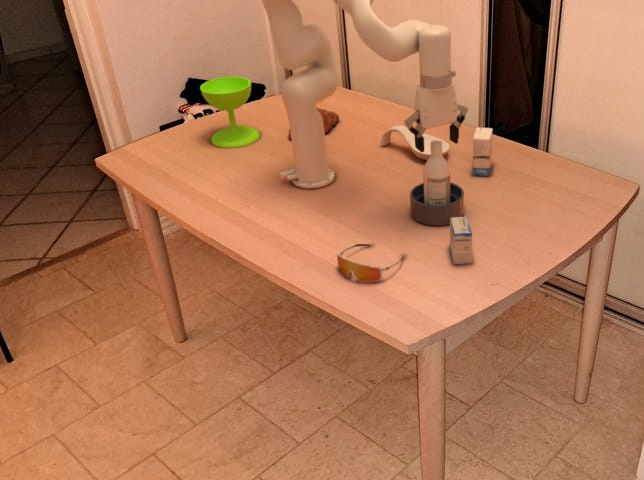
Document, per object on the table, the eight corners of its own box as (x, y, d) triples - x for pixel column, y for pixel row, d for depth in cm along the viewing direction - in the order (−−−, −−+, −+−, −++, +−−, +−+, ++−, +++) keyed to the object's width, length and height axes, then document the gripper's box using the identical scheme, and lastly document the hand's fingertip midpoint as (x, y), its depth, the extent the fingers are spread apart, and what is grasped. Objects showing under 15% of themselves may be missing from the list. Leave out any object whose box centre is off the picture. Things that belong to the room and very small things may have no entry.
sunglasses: (327, 272, 167) (326, 253, 165) (363, 250, 179) (364, 232, 177) (376, 289, 161) (376, 270, 159) (411, 265, 173) (412, 247, 170)
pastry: (334, 140, 231) (332, 116, 226) (287, 141, 231) (284, 117, 227) (339, 120, 245) (337, 97, 240) (295, 121, 245) (292, 98, 241)
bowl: (426, 231, 182) (425, 211, 178) (401, 208, 192) (401, 188, 189) (473, 218, 187) (474, 198, 183) (447, 195, 197) (447, 176, 194)
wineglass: (201, 143, 231) (189, 90, 221) (229, 125, 244) (219, 74, 233) (242, 150, 226) (232, 96, 216) (268, 131, 238) (260, 79, 228)
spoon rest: (456, 154, 220) (456, 132, 215) (435, 168, 212) (435, 146, 208) (394, 138, 231) (393, 117, 227) (373, 151, 223) (371, 129, 219)
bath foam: (454, 214, 188) (455, 144, 176) (431, 220, 185) (430, 150, 174) (442, 203, 193) (442, 135, 182) (420, 209, 191) (418, 140, 179)
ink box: (488, 176, 206) (490, 139, 199) (472, 175, 207) (472, 138, 200) (492, 164, 213) (493, 127, 206) (475, 163, 214) (476, 126, 207)
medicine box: (449, 247, 175) (449, 217, 170) (467, 246, 175) (467, 215, 171) (453, 265, 169) (453, 234, 164) (472, 263, 169) (472, 232, 164)
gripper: (459, 68, 175) (459, 133, 184) (396, 82, 168) (400, 148, 178) (474, 77, 169) (474, 143, 179) (410, 91, 163) (413, 159, 172)
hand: (437, 145), depth 178 cm, fingers open, 9 cm apart
